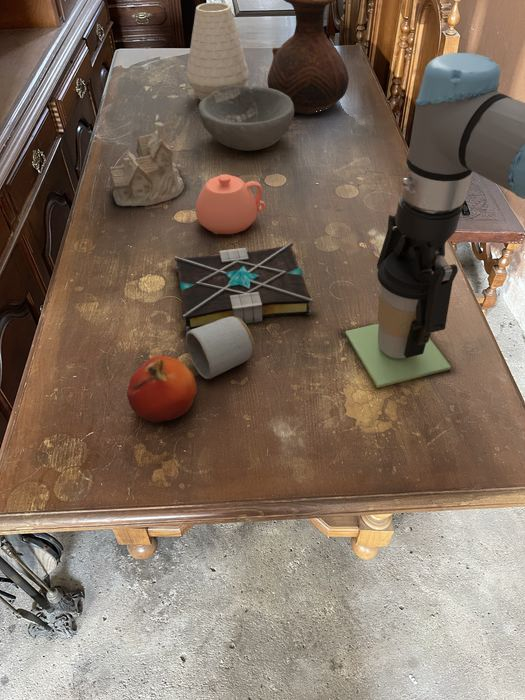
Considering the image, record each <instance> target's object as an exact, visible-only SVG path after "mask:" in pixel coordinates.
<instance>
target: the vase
mask: <svg viewBox="0 0 525 700" xmlns="http://www.w3.org/2000/svg"><path fill="white" fill-rule="evenodd" d="M190 40H191V41H190V47H189V54H188V59H187V60H188V61H187V67H186V74H185V76H186V80H187V82H188V84H189V85H190V87H191V89H192V90H193V92H194V93H195V95H196V97H197V98H198V100H199V99H200V100H203V99H204V98H206V97H208V96H209V95H211V94H212V93H213V92H215V91H217V90H219V89H221V88H227V87H230V86H246V85H247V83H248V80H249V78H250V71H249V70H250V69H249V67H248V62H247V60H246V56H245V52H244V50H243V45H242V42H241V38H240V36H239V31H238V28H237V25H236V21H235V18H234V15H233V11H232V7H231V5H230V4H229V3H225V2H205V3H201V4H198V5H197V6H196V7H195V13H194V20H193V27H192V33H191V39H190ZM200 100H199V101H200Z"/></svg>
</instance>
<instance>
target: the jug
mask: <svg viewBox="0 0 525 700" xmlns="http://www.w3.org/2000/svg"><path fill="white" fill-rule="evenodd" d="M283 1H284V2H286V3H288V4H290V5H291V6H292V8H293V10H294V13H295V29H294V33H293V35H292V36H291V37H289V38H288V39H287V40H285V42H283V43H282V45H281V46H280V47H272V49H271V50H272V60H271V65H270V68H269V70H268V73H267V80H266V82H267V83H266V84H267V88H271V89H275V90H278V91H280V92H282V93H284V94H286V95H287V96H288V97H290V99H291V100H292V102H293V105H294V114H295V113H296V114H300V115H314V114H318V113H322V112H324V111H327V110H328V109H330V108H331V107H333V106H334V105H335V104H337V103H338V102H339V101H340V100H341V99H342V98H344V96H345V95H346V92H347V90H348V87H349V79H350V78H349V72H348V69H347V66H346V64H345V62H344V60H343V57H342V56H341V54H340V52H339V50H338V49H337V48H336V46H335V45H334V44H333V42H331V40H330V39H329V38H328V37H327V36H326V32H325V25H324V23H325V22H324V21H325V20H324V19H325V18H324V17H325V11H326V7H327V6H328V5H329V4H332V3H335V2H336V0H283ZM326 108H327V109H326ZM320 110H321V111H320ZM316 111H317V112H316Z"/></svg>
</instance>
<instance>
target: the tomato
mask: <svg viewBox="0 0 525 700" xmlns="http://www.w3.org/2000/svg"><path fill="white" fill-rule="evenodd" d="M197 392H198V391H197V382H196V378H195V376H194V373H193V372H192V371H191V370H190V368H188V367H187V366H186V364H184V362H182V361H181V360H179V359H177V358H174V357H171V356H166V355H156V356H153V357H151V358H149V359H148V360H147V361H146V362H144V364H141V366H140V367H139V368H138V369H137V370H136V371H135V372H134V373H133V375H131V377H130V380H129V385H128V387H127V390H126V396H127V400H128V403H129V406H130V408H131V409H132V411H133V412H134V413H135V414H136V415H137V416H138V417H140V418H141V419H143V420H146V421H147V422H153V423H161V422H164V421H165V422H166V421H173V420H175V419H178V418H180V417H181V416H183V415H184V414H186V413H187V412H188V411H189V410H190V408H191V407H192V405H193V403H194V399H195V397H196V396H197V395H196V394H197Z"/></svg>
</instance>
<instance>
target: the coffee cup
mask: <svg viewBox="0 0 525 700" xmlns="http://www.w3.org/2000/svg"><path fill="white" fill-rule="evenodd" d="M431 268H432V267H431ZM431 268H428V269H423V270H420V271H425V270H430V269H431ZM376 276H377V277H376V278H377V281H378V282H379V283H380V285H379V290H378V305H377V306H378V307H377V322H378V323H377V324H378V346H379V348H380V349H381V350H382V352H383V353H385V354H386V355H388V356H390V357H393V358H405V356H404V352H405V348H406V344H407V340H408V336H409V332H410V328H411V324H412V322H413V321H416V306H417V303H418V300H423V299H428V294H429V286H430V281H428V282H423V283H420V282H419V281H418V280H417V279H415V278H413V277H412V264H411V262H410V261H408V260H407V259H406V258H402V259H397V257H396V254H395V252H393V253H391V254H390V255H389V256H388V257H387V258H386V259H385V260H384V261H383V262H382V263H381V265H380V267H379V269H377V274H376ZM420 287H421V288H422V289H424V290H427V291H424V292H420Z"/></svg>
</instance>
